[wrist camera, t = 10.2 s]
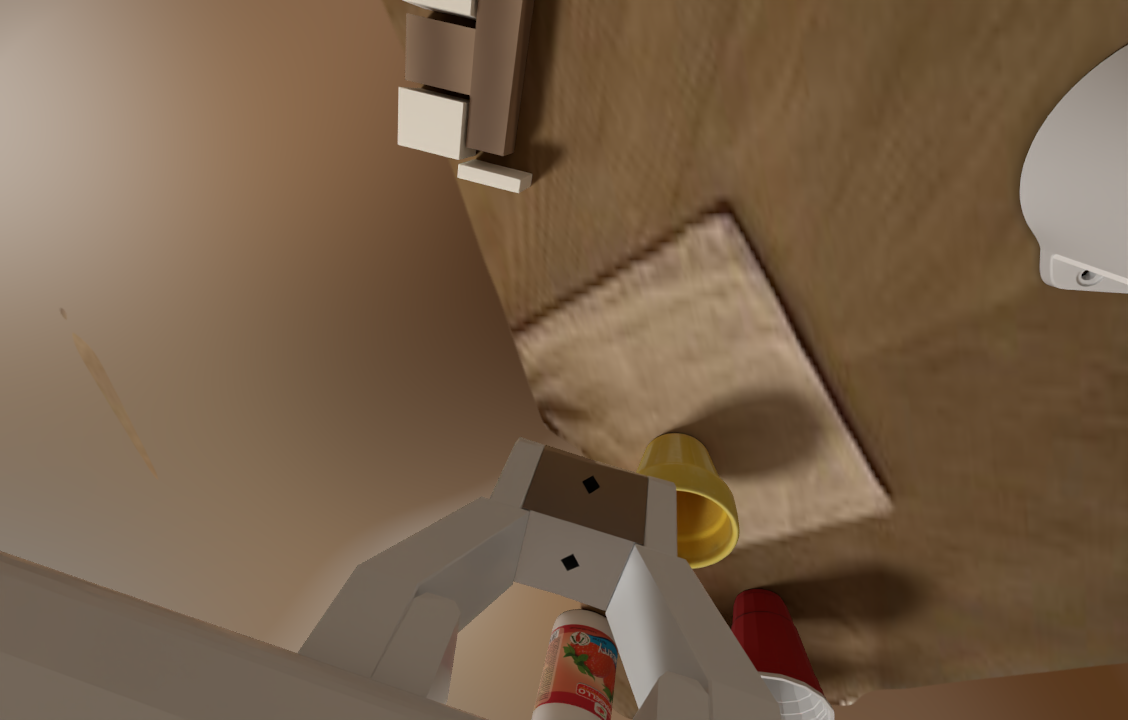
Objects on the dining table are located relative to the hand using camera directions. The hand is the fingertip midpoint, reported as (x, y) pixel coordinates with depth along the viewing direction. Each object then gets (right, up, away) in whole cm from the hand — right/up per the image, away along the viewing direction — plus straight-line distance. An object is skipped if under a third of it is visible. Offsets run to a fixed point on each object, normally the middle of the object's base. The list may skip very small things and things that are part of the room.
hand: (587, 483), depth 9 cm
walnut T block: (-6, +25, +27) cm, 37 cm away
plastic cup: (+23, -27, +49) cm, 60 cm away
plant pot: (+11, -8, +41) cm, 43 cm away
